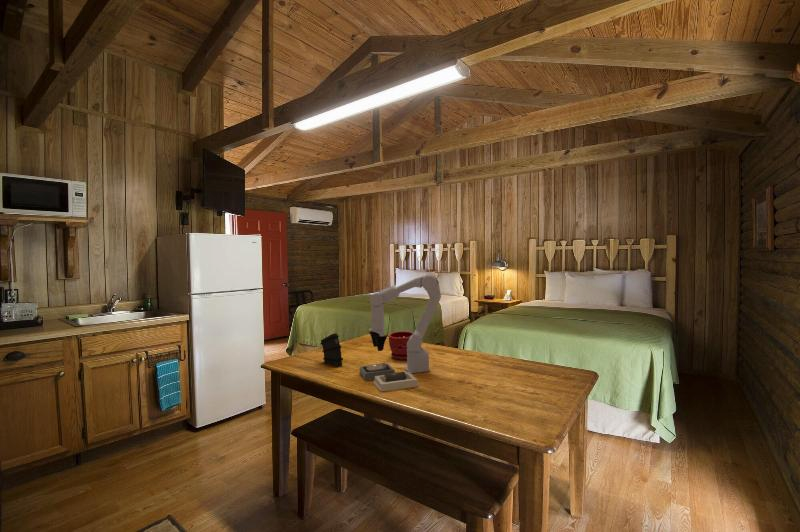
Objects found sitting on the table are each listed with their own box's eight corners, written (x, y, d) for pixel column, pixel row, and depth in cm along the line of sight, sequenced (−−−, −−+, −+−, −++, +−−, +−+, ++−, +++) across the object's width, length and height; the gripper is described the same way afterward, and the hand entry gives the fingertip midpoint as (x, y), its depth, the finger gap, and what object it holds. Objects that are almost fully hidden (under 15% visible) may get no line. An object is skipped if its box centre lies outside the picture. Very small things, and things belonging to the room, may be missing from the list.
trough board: (409, 378, 164) (409, 371, 164) (418, 386, 154) (418, 379, 154) (373, 383, 159) (373, 376, 158) (380, 391, 149) (379, 384, 149)
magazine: (340, 365, 178) (331, 334, 181) (326, 371, 186) (317, 341, 190) (346, 363, 180) (338, 332, 184) (332, 369, 189) (324, 340, 193)
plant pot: (391, 353, 202) (390, 330, 201) (416, 354, 200) (416, 331, 199) (387, 361, 189) (386, 336, 188) (413, 361, 187) (413, 337, 186)
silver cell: (383, 367, 172) (384, 361, 170) (385, 374, 169) (387, 368, 167) (364, 369, 169) (365, 363, 167) (366, 376, 166) (368, 370, 164)
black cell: (402, 379, 160) (402, 370, 159) (406, 383, 156) (406, 373, 155) (382, 382, 157) (382, 372, 156) (385, 386, 153) (385, 376, 153)
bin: (387, 369, 175) (387, 363, 175) (394, 376, 166) (394, 369, 166) (359, 373, 171) (359, 366, 171) (365, 380, 161) (364, 373, 161)
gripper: (365, 317, 181) (365, 345, 182) (373, 322, 167) (373, 353, 168) (379, 315, 183) (380, 344, 184) (388, 321, 170) (389, 351, 170)
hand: (378, 348), depth 176 cm, fingers open, 7 cm apart
